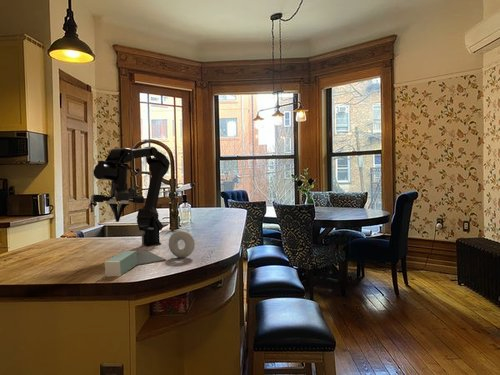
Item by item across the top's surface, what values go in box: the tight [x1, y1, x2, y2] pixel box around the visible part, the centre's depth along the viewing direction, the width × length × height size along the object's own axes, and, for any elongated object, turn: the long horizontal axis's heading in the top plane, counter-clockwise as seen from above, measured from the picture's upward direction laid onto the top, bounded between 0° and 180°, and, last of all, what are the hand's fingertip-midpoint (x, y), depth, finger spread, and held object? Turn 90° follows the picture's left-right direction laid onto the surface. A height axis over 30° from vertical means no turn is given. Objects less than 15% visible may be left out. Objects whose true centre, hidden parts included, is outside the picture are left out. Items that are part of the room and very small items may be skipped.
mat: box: [112, 250, 167, 267], centre depth 133 cm, size 14×18×1 cm
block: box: [104, 250, 138, 277], centre depth 118 cm, size 4×4×12 cm
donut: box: [168, 229, 196, 259], centre depth 133 cm, size 10×3×10 cm, turn 73°
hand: (117, 221), depth 142 cm, fingers closed
